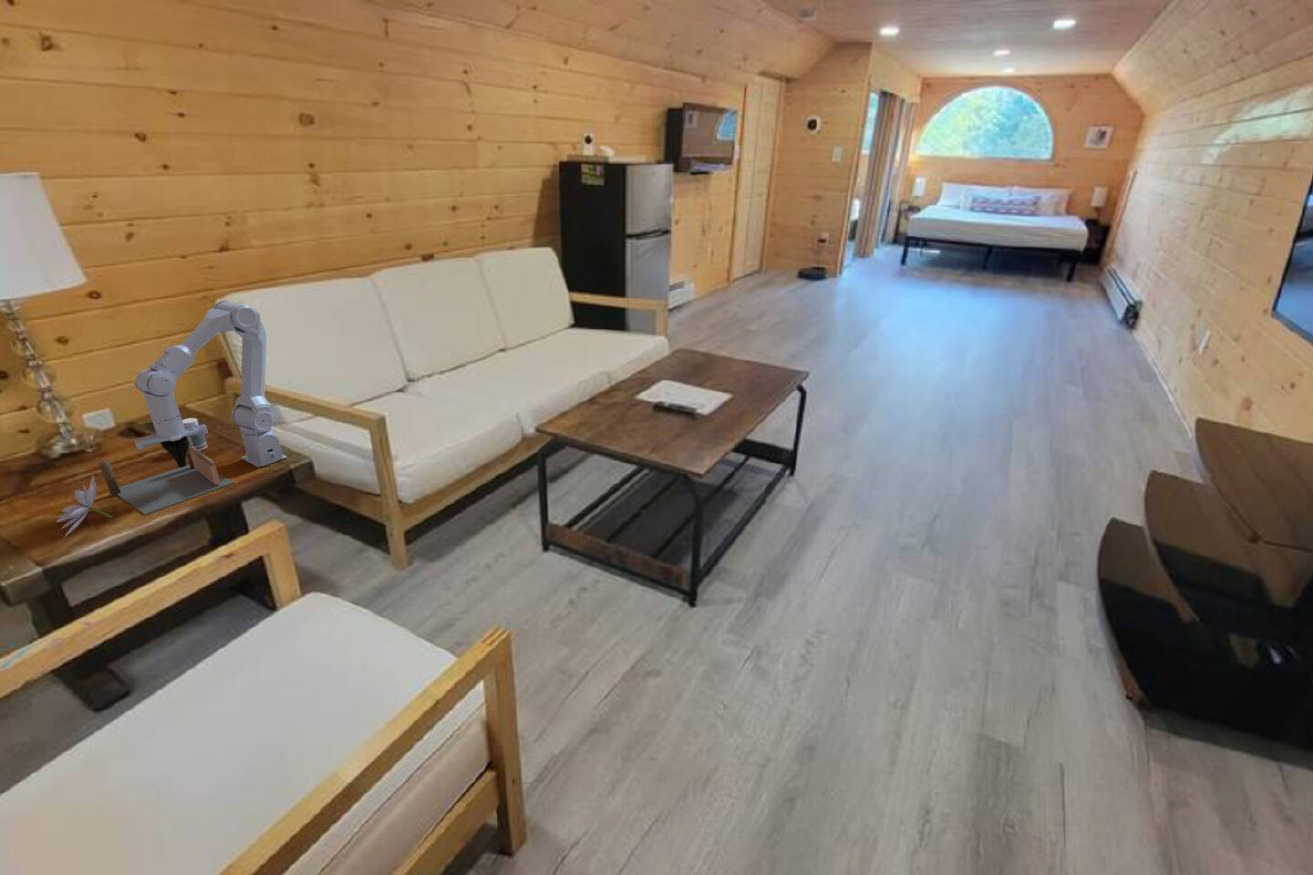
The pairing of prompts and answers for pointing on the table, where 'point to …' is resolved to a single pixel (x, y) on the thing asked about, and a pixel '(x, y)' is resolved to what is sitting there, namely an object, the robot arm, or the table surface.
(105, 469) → the brown wooden posts
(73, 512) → the water lily
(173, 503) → the mat
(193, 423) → the pill bottle
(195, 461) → the brown rimmed panel
